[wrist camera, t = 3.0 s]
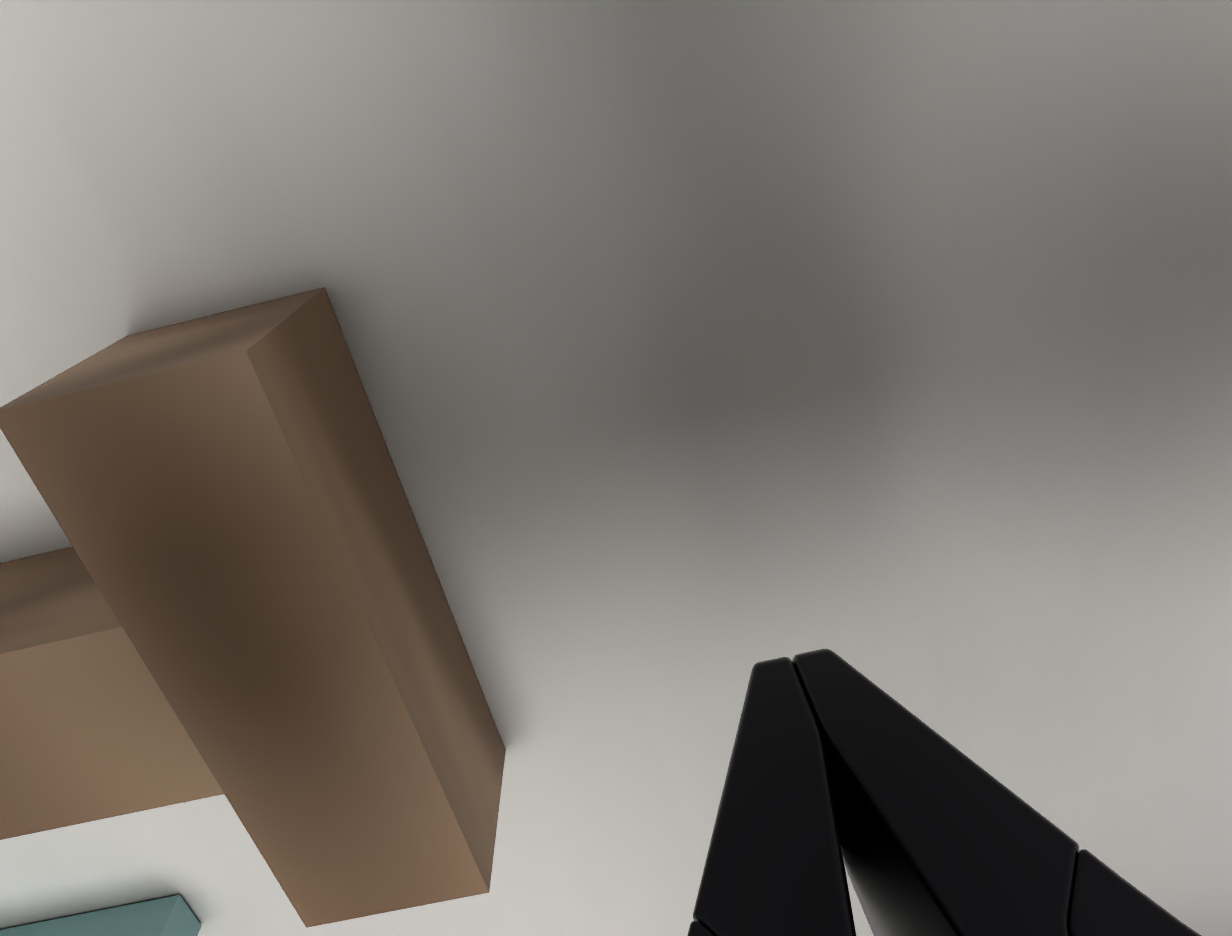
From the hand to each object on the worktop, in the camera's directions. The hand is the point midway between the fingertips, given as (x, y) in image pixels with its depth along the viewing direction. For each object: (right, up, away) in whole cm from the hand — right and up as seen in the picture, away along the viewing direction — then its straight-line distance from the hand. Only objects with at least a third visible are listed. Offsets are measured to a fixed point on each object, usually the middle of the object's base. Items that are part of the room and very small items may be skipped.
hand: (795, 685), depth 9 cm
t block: (-9, 0, +5) cm, 11 cm away
